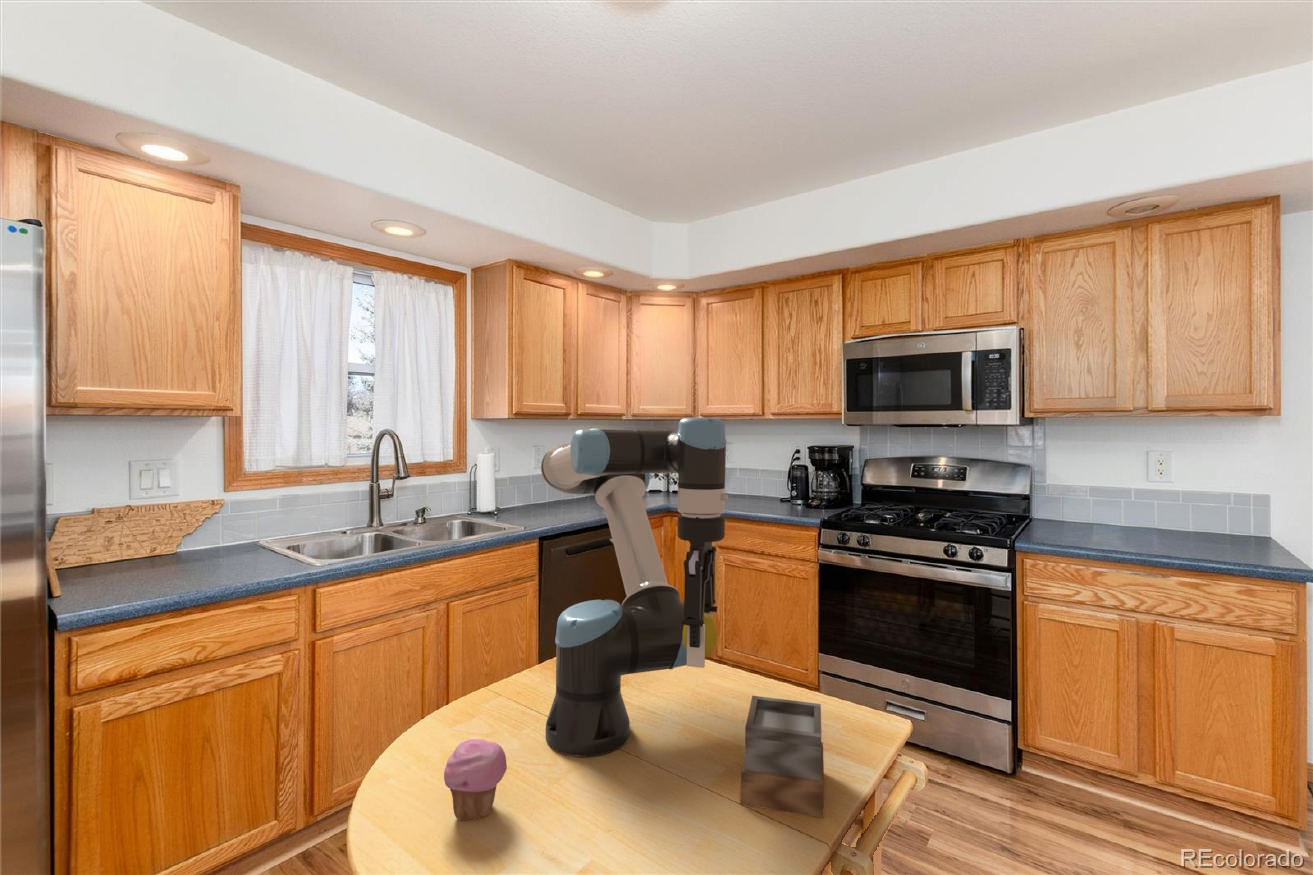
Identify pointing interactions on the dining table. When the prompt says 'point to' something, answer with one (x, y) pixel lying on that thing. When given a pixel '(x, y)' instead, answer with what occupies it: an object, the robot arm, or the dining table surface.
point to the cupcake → (474, 777)
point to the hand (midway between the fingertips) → (699, 658)
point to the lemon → (709, 635)
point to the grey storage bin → (783, 757)
